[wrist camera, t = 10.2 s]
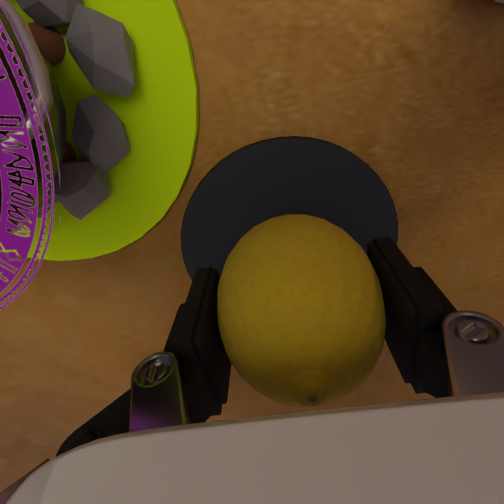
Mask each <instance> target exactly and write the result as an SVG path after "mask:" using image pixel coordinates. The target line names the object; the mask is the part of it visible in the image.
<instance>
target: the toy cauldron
mask: <svg viewBox="0 0 504 504" xmlns="http://www.w3.org/2000/svg"><path fill="white" fill-rule="evenodd" d="M198 131H199V88H198V82H197V77H196V71H195V66H194V60H193V54H192V49H191V43H190V40H189V37H188V34H187V32H186V29H185V26H184V23H183V20H182V17H181V15H180V12H179V9H178V6H177V3H176V0H0V251H3V252H0V259H1V260H3V261H5V262H6V263H8V264H10V265H12V266H13V267H15V268H17V270H16V272H15V273H14V274H13V273H12V272H10V271H9V270H11V271H13V270H14V268H12V267H11V266H9V265H7V264H5V263H4V262H2V261H0V264H1V265H3V266H4V267H6V268H8V269H9V270H7V269H5V268H4V267H2V266H0V273H1V272H2V275H3V276H4V277H6V278H7V279H8V282H4V281H3V280H1V279H0V293H1V292H2V291H3V290H4V289H5V288H6V287H7V286H8V285H9V284H10V282H12V281H13V279H14V278H15V277H16V275H17V274H18V272H19V271H20V269H21V268H22V266H23V264H24V262H25V260H26V258H27V257H28V258H32V259H31V261H30V263H29V265H28V267H27V269H26V270H25V272H24V273H23V275H22V277H21V278H20V279H19V281H18V282H17V283H16V284H15V285H14V287H13V288H11V290H10V291H8V293H6V294H5V295H4V296H3V297H1V298H0V302H5V301H4V299H5V298H8V299H9V297H8V296H9V295H12V296H13V293H12V292H13V291H16V292H17V290H16V287H19V288H21V286H20V285H19V284H20V283H22V284H23V283H25V282H24V281H23V279H24V278H26V279H28V277H27V274H30V273H29V270H30V269H32V270H34V268H33V267H32V265H33V264H36V263H35V262H34V261H35V259H40V262H39V263H38V266H37V267H36V270H35V271H34V273H33V274H32V276H31V278H30V279H29V281H28V282H27V283H26V285H25V286H24V287H23V288H22V289H21V290H20V292H18V293H17V294H16V296H14V297H13V298H12V299H11V300H10V301H9V302H7V303H6V304H5V305H3V306H2V307H0V310H1V309H3V308H4V307H5V306H7V305H8V304H10V303H11V302H12V301H13V300H14V299H15V298H17V297H18V295H20V294H21V292H22V291H24V290H25V288H26V287H27V286H28V284H29V283H30V282H31V280H32V279H33V277H34V276H35V275H36V272H37V271H38V269H39V267H40V265H41V263H42V260H43V259H44V260H57V261H68V260H79V259H89V258H94V257H97V256H100V255H104V254H107V253H110V252H114V251H117V250H119V249H121V248H123V247H124V246H126V245H128V244H130V243H132V242H133V241H135V240H137V239H139V238H141V237H142V236H143V235H144V234H145V233H147V232H148V231H149V230H150V229H151V228H152V227H153V226H154V225H156V224H157V223H158V222H159V221H160V220H161V219H162V218H163V217H164V216H165V215H166V213H167V212H168V210H169V209H170V207H171V206H172V205H173V203H174V202H175V200H176V199H177V197H178V196H179V195H180V193H181V190H182V188H183V186H184V183H185V181H186V178H187V176H188V173H189V171H190V168H191V166H192V163H193V158H194V152H195V147H196V141H197V136H198ZM5 252H7V254H8V255H9V257H10V258H11V259H19V258H18V256H17V255H19V256H20V258H21V259H22V261H19V260H18V261H16V260H13V261H12V260H9V258H8V257H7V255H6V254H5ZM0 277H1V276H0ZM1 278H2V279H4V280H6V279H5V278H3V277H1ZM0 305H1V304H0Z"/></svg>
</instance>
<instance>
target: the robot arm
mask: <svg viewBox="0 0 504 504" xmlns="http://www.w3.org/2000/svg"><path fill="white" fill-rule="evenodd" d="M367 256H368V258H369V260H370V262H371V264H372V266H373V268H374V270H375V272H376V274H377V276H378V278H379V282H380V285H381V289H382V294H383V301H384V307H385V314H386V331H385V337H384V338H385V341H386V343H387V345H388V347H389V349H390V351H391V354H392V356H393V358H394V360H395V362H396V365H397V367H398V369H399V371H400V373H401V376H402V378H403V380H404V382H405V383H411V384H412V386H413V389H414V391H415V393H416V394H417V393H428V394H430V395H432V396H434V397H435V398H432V399H422V400H412V401H402V402H392V403H382V404H372V405H362V406H352V407H343V408H333V409H324V410H314V411H304V412H295V413H286V414H276V415H267V416H258V417H249V418H240V419H231V420H222V421H213V422H206V420H207V419H208V418H209V417H210V416H213V415H221V409H222V404H226V403H227V397H228V388H229V379H230V369H231V362H230V360H229V358H228V355H227V353H226V350H225V347H224V344H223V341H222V338H221V334H220V331H219V325H218V316H217V292H218V284H219V280H220V275H219V272H218V270H217V269H214V270H213V268H212V267H211V266H210V267H204V268H198V269H197V270H196V273H195V276H194V279H193V282H192V285H191V288H190V291H189V294H188V297H187V300H186V303H184V304H181V305H180V306H179V309H178V311H177V314H176V317H175V320H174V323H173V326H172V328H171V331H170V334H169V337H168V340H167V342H166V345H165V348H164V351H163V352H158V353H154V354H152V355H150V356H148V357H146V358H145V359H144V360H142V361H141V362H140V363H139V364H138V365H137V366H136V368H135V370H134V371H133V373H132V378H131V389H129V390H128V391H127V392H125V393H124V394H123V395H122V396H120V397H119V398H118V399H116V400H115V401H114V402H112V403H111V404H110V405H108V406H107V407H106V408H104V409H103V410H102V411H100V412H99V413H98V414H97V415H95V416H94V417H93V418H91V419H90V420H89V421H87V422H86V423H85V424H83V425H82V426H81V427H79V428H78V429H77V430H75V431H74V432H73V433H72V434H71V435H70V436H69V437H68V438H67V439H66V440H65V441H64V443H63V444H62V445H61V447H60V449H59V450H58V452H57V454H56V457H55V458H53V459H52V460H49V459H46V460H45V461H44V462H42V463H41V464H40V465H38V466H37V467H35V468H34V469H33V470H31V471H30V472H29V473H27V474H26V475H24V476H23V477H22V478H20V479H19V480H17V481H16V482H15V483H13V484H12V485H11V486H9V487H8V488H6V489H5V490H4V491H2V492H1V493H0V504H504V327H503V326H502V324H500V323H499V322H498V321H497V320H496V319H494V318H492V317H490V316H488V315H485V314H482V313H479V312H474V311H457V310H456V309H455V307H454V306H453V305H452V304H451V303H450V301H449V300H448V299H447V298H446V296H445V295H444V294H443V293H442V292H441V290H440V289H439V288H438V287H437V285H436V284H435V283H434V282H433V280H432V279H431V278H430V277H429V276H428V274H427V273H426V272H425V271H424V270H423V269H422V268H421V267H414V268H413V267H412V265H411V264H410V263H409V261H408V260H407V259H406V257H405V256H404V255H403V254H402V252H401V251H400V250H399V248H398V247H397V246H396V244H395V243H394V242H393V241H392V239H391V238H390V237H389V236H387V237H381V238H375V239H372V243H368V244H367Z"/></svg>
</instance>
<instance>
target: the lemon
mask: <svg viewBox="0 0 504 504" xmlns="http://www.w3.org/2000/svg"><path fill="white" fill-rule="evenodd" d="M217 316H218V325H219V331H220V334H221V338H222V341H223V344H224V347H225V350H226V353H227V355H228V358H229V360H230V362H231V363H232V365H233V366H234V367H235V369H236V370H237V372H238V373H239V374H240V376H241V377H242V379H243V380H245V381H246V382H247V383H248V384H249V385H250V386H252V387H253V388H254V389H255V390H256V391H258V392H259V393H261V394H263V395H265V396H267V397H269V398H271V399H273V400H275V401H277V402H280V403H284V404H287V405H292V406H301V407H312V406H319V405H324V404H328V403H331V402H333V401H336V400H338V399H341V398H343V397H344V396H346V395H348V394H349V393H351V392H352V391H353V390H355V389H356V388H357V387H358V386H359V385H360V384H361V383H362V382H363V381H364V380H365V379H366V378H367V377H368V376H369V374H370V373H371V372H372V370H373V368H374V367H375V365H376V363H377V361H378V359H379V357H380V355H381V352H382V348H383V343H384V337H385V331H386V314H385V307H384V301H383V294H382V289H381V285H380V282H379V278H378V276H377V274H376V272H375V270H374V268H373V266H372V264H371V262H370V260H369V258H368V256H367V255H366V253H365V251H364V250H363V249H362V248H361V246H360V245H359V244H358V243H357V242H356V241H355V240H354V239H353V238H352V237H351V236H350V235H348V234H347V233H346V232H345V231H344V230H343V229H341V228H340V227H338V226H336V225H334V224H332V223H330V222H329V221H327V220H325V219H322V218H318V217H314V216H310V215H306V214H287V215H282V216H278V217H273V218H270V219H268V220H266V221H264V222H262V223H260V224H258V225H256V226H254V227H253V228H252V229H251V230H250V231H248V232H247V233H246V234H245V235H244V236H243V237H242V238H241V239H240V240H239V241H238V243H237V244H236V245H235V247H234V248H233V250H232V251H231V253H230V254H229V256H228V258H227V260H226V262H225V265H224V268H223V271H222V274H221V277H220V280H219V284H218V292H217Z"/></svg>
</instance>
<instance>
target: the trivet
mask: <svg viewBox="0 0 504 504" xmlns="http://www.w3.org/2000/svg"><path fill="white" fill-rule="evenodd" d="M287 214H306V215H310V216H314V217H318V218H322V219H325V220H327V221H329V222H330V223H332V224H334V225H336V226H338V227H340V228H341V229H343V230H344V231H345V232H346V233H347V234H348V235H350V236H351V237H352V238H353V239H354V240H355V241H356V242H357V243H358V244H359V245H360V246H361V248H362V249H363V250H364V251H365V253H366V255H367V244H368V243H372V239H375V238H381V237H387V236H389V237H390V238H391V239H392V241H393V242H394V243H395V244H396V246H397V241H398V222H397V214H396V210H395V207H394V203H393V200H392V198H391V196H390V194H389V191H388V189H387V188H386V186H385V185H384V183H383V182H382V180H381V179H380V177H379V176H378V175H377V174H376V173H375V172H374V171H373V170H372V169H371V168H370V166H369V165H367V164H366V163H365V162H364V161H362V160H361V159H360V158H359V157H357V156H356V155H355V154H353V153H351V152H350V151H348V150H346V149H344V148H342V147H341V146H338V145H335V144H333V143H330V142H327V141H324V140H319V139H315V138H310V137H298V136H290V137H277V138H271V139H266V140H262V141H259V142H256V143H253V144H250V145H247V146H245V147H243V148H241V149H239V150H237V151H235V152H233V153H231V154H230V155H229V156H227V157H226V158H224V159H223V160H221V161H220V162H219V163H218V164H217V165H216V166H214V167H213V168H212V169H211V170H210V171H209V172H208V173H207V175H206V176H205V177H204V178H203V179H202V181H201V182H200V183H199V185H198V187H197V188H196V190H195V191H194V193H193V195H192V196H191V198H190V201H189V203H188V205H187V208H186V210H185V214H184V218H183V222H182V229H181V249H182V254H183V259H184V263H185V265H186V268H187V271H188V273H189V275H190V277H191V279H192V281H193V279H194V276H195V273H196V270H197V269H198V268H204V267H210V266H211V267H212V268H213V270H214V269H217V270H218V272H219V275H220V277H221V274H222V271H223V268H224V265H225V262H226V260H227V258H228V256H229V254H230V253H231V251H232V250H233V248H234V247H235V245H236V244H237V243H238V241H239V240H240V239H241V238H242V237H243V236H244V235H245V234H246V233H247V232H248V231H250V230H251V229H252V228H253V227H254V226H256V225H258V224H260V223H262V222H264V221H266V220H268V219H270V218H273V217H278V216H282V215H287Z"/></svg>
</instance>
